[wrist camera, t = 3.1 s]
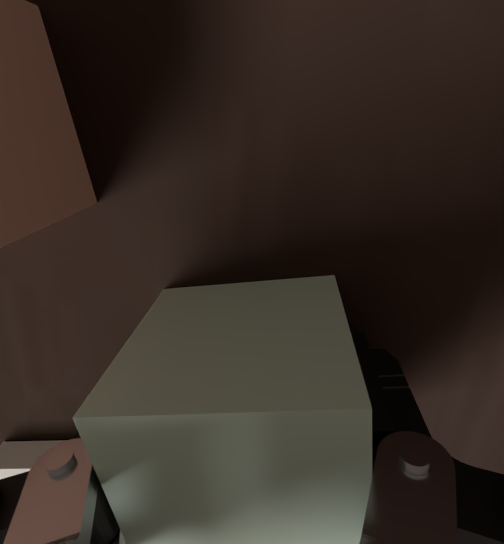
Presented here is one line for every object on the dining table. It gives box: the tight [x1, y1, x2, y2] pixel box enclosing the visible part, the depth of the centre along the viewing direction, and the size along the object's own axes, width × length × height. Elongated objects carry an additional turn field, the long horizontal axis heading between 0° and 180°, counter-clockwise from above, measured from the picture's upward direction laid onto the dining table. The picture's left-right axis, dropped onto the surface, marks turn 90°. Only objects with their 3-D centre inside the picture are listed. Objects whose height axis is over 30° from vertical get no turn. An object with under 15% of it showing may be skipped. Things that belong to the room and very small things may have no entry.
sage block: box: [72, 275, 372, 544], centre depth 9 cm, size 5×5×5 cm
